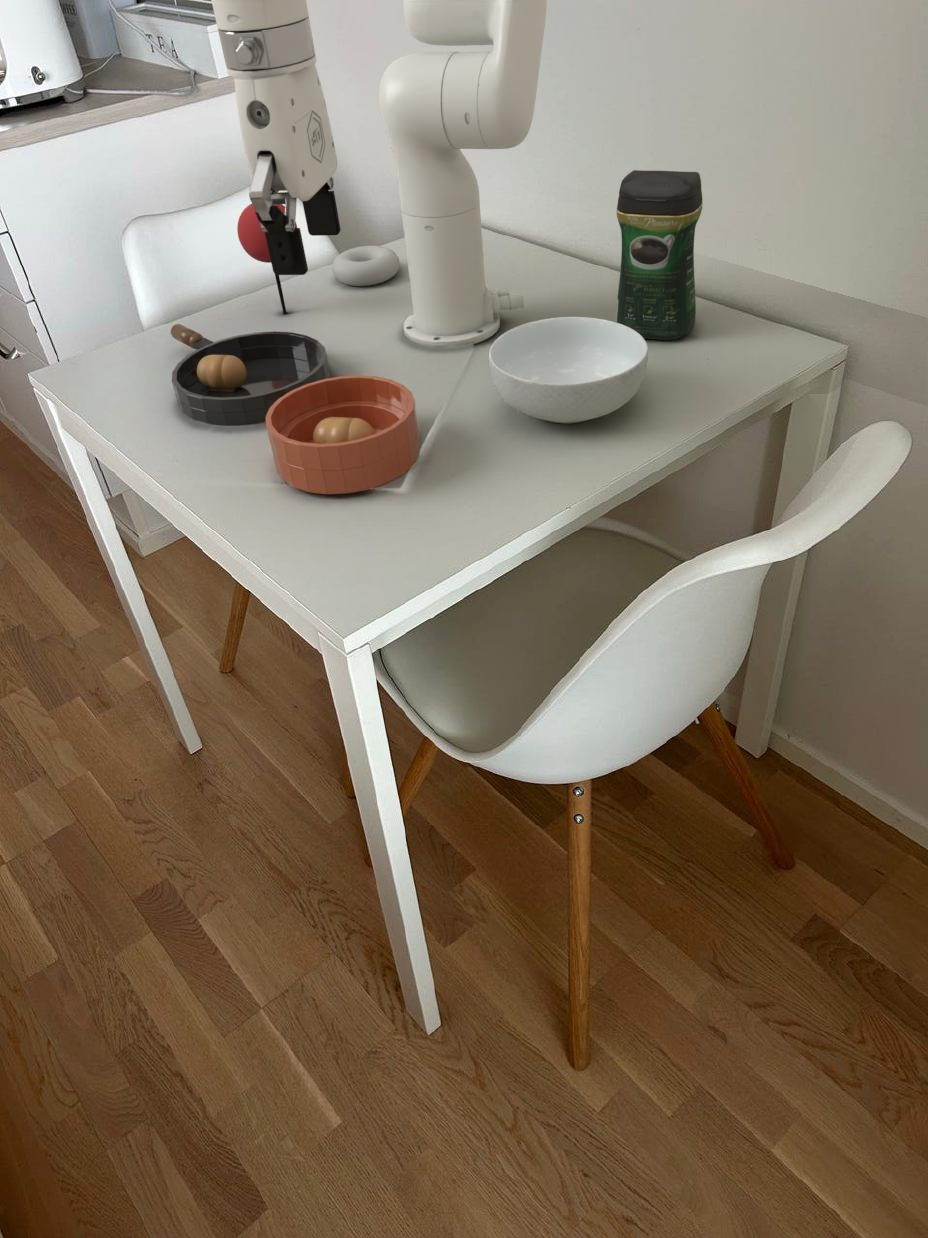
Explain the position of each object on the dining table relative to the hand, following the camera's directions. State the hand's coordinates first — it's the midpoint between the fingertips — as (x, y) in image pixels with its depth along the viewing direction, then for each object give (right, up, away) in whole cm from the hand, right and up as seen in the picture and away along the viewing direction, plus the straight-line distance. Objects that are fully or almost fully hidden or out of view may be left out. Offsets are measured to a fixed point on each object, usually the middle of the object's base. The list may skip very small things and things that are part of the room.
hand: (308, 253), depth 92 cm
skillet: (-10, -7, +25) cm, 28 cm away
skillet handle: (-20, 0, +32) cm, 38 cm away
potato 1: (-14, -7, +25) cm, 30 cm away
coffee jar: (+39, +2, +30) cm, 49 cm away
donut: (0, +16, +52) cm, 55 cm away
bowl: (+3, -18, +11) cm, 21 cm away
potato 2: (+2, -17, +10) cm, 20 cm away
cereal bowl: (+26, -11, +16) cm, 33 cm away
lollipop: (-10, +8, +44) cm, 46 cm away
